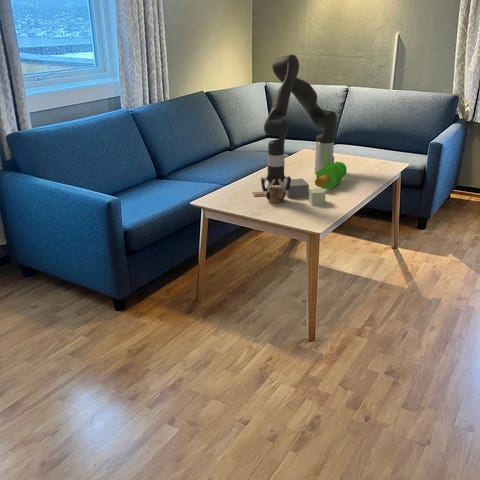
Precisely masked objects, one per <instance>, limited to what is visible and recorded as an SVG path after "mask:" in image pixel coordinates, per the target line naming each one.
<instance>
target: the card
mask: <svg viewBox="0 0 480 480" xmlns="http://www.w3.org/2000/svg"><path fill="white" fill-rule="evenodd" d="M252 195H253V197H255V198H258V197H266V192H265V191H263V190H262V191H252Z"/></svg>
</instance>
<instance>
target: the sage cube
mask: <svg viewBox="0 0 480 480" xmlns="http://www.w3.org/2000/svg"><path fill="white" fill-rule="evenodd" d="M326 195H327V193H326V190H324V188H321V187H318V188H309V196H308V202H309V203H310V205H311V206H325V205H326Z"/></svg>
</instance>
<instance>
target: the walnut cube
mask: <svg viewBox="0 0 480 480" xmlns="http://www.w3.org/2000/svg"><path fill="white" fill-rule="evenodd" d="M283 191H284V190H283V189H282V188H281V186H277V185H276V186H272V188H271V189H270V191H269V192H270V200H268V202H269V203H270V204H278V203H279V204H282V203H284V199H283Z"/></svg>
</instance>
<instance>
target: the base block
mask: <svg viewBox="0 0 480 480" xmlns="http://www.w3.org/2000/svg"><path fill="white" fill-rule="evenodd" d="M286 183H287V181H286V179H285V180H284V181H283V182H282V184H283V186H284V187H286ZM309 189H310V184H309V183H308V182H307V181H306V180H305V179H303V178H293V179H292V178H291V182H290V188H289V190H286V191H285V197H286V198H288V199H292V198H293V199H294V198H295V199H296V198H305V197H306V198H307V197H309Z"/></svg>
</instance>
